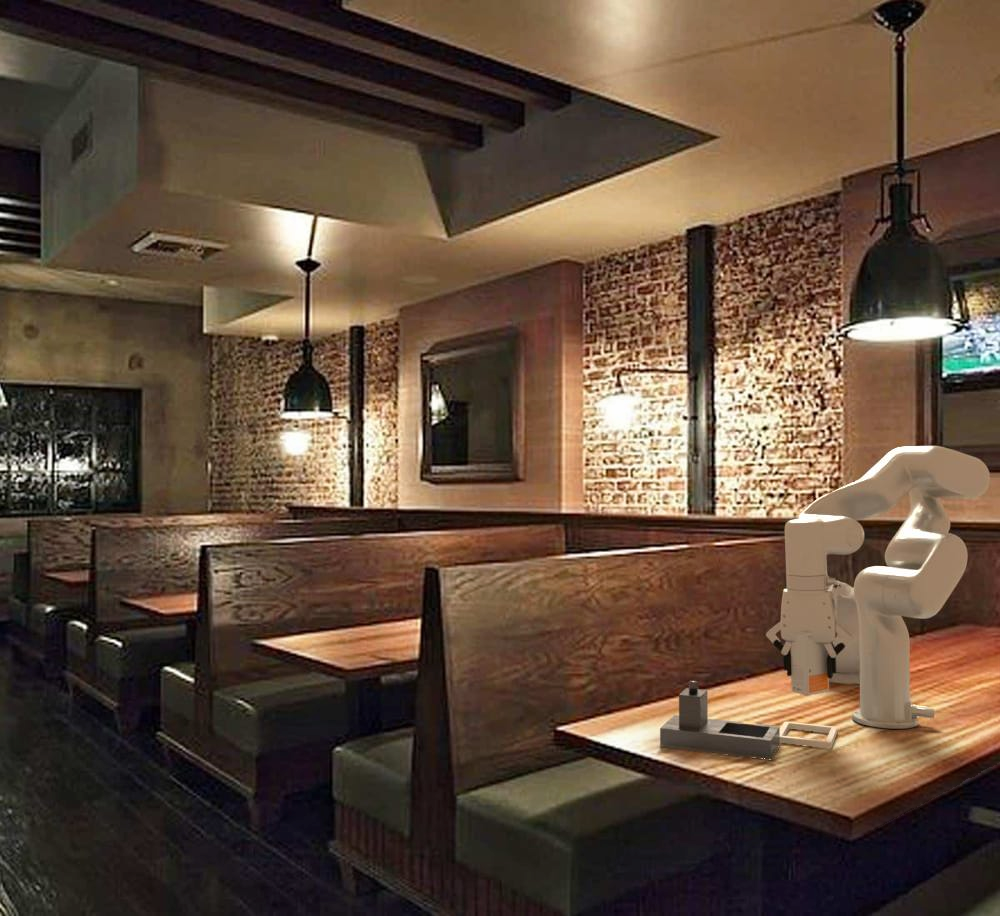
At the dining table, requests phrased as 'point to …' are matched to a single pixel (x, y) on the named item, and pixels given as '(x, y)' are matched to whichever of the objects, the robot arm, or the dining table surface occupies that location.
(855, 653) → the ceramic pitcher
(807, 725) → the tray frame
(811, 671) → the skincare box
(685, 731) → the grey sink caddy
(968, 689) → the dining table surface
